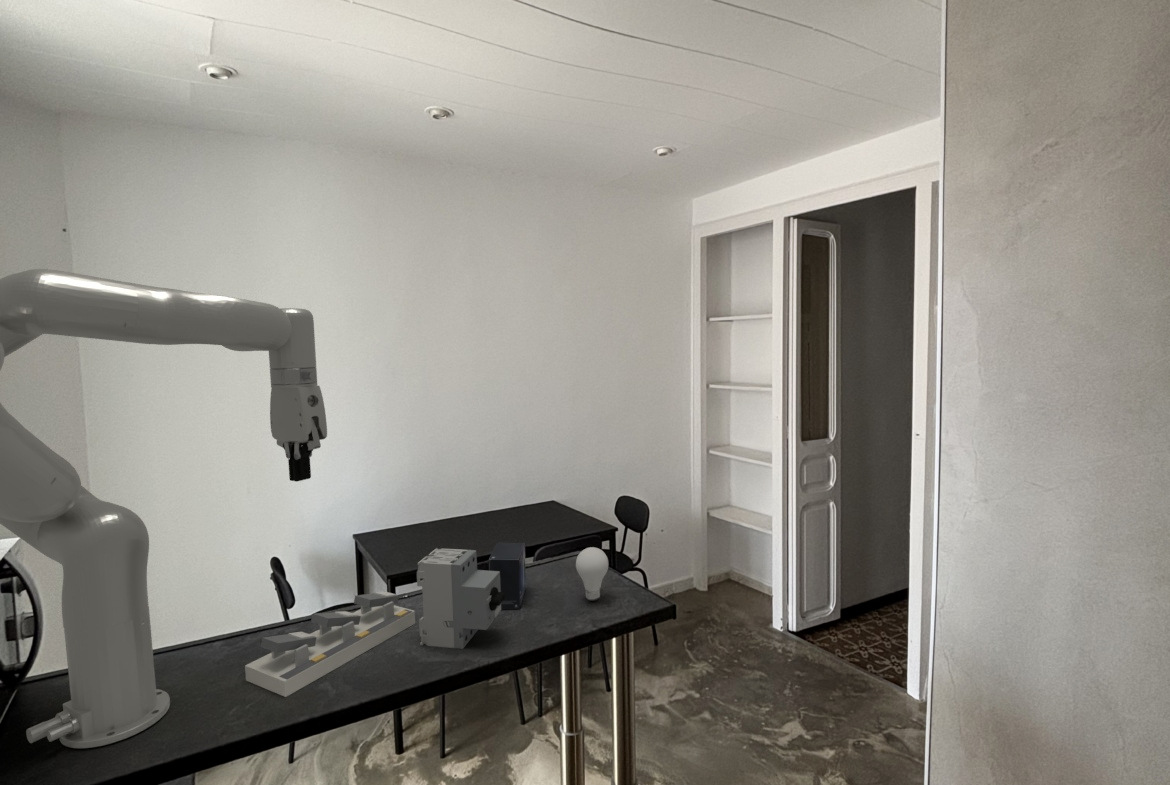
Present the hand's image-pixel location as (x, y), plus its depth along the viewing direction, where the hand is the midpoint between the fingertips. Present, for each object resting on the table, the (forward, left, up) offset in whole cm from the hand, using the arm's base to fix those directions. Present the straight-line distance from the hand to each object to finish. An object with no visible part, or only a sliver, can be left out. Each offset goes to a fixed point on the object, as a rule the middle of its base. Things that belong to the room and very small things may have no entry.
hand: (300, 479), depth 110 cm
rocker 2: (-1, -10, -24) cm, 25 cm away
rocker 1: (-10, -10, -24) cm, 28 cm away
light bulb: (+36, -40, -29) cm, 61 cm away
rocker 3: (+8, -10, -24) cm, 27 cm away
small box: (+29, -24, -29) cm, 48 cm away
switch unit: (-1, -10, -29) cm, 31 cm away
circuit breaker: (+12, -27, -29) cm, 42 cm away
